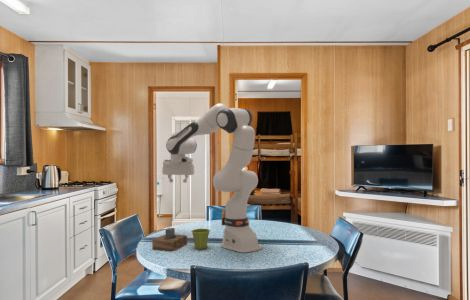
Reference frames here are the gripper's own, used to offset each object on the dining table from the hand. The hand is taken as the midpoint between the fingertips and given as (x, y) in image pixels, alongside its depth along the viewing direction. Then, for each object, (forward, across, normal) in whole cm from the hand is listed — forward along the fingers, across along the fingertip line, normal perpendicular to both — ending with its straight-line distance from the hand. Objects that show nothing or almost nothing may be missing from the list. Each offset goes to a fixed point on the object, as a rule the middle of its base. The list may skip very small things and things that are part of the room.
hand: (178, 182), depth 196 cm
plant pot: (+31, +26, -22) cm, 46 cm away
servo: (+30, +10, -26) cm, 41 cm away
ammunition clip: (+31, +20, +35) cm, 51 cm away
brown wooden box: (+31, +10, -26) cm, 41 cm away
